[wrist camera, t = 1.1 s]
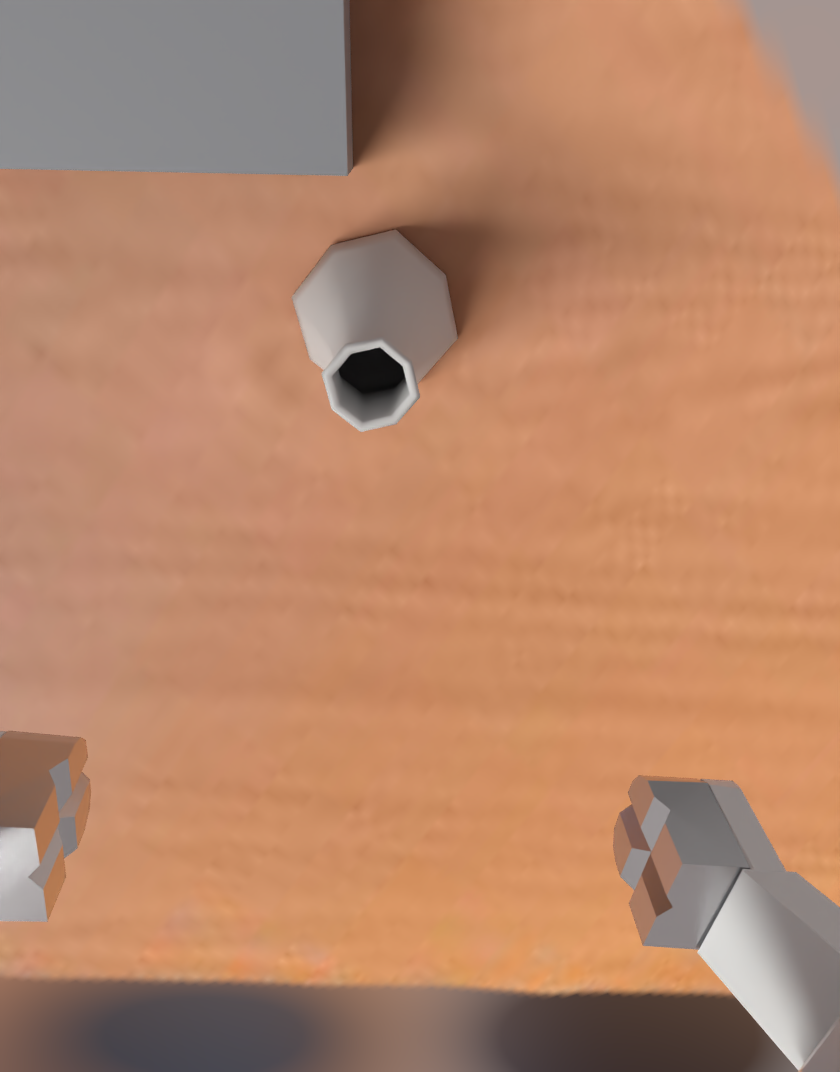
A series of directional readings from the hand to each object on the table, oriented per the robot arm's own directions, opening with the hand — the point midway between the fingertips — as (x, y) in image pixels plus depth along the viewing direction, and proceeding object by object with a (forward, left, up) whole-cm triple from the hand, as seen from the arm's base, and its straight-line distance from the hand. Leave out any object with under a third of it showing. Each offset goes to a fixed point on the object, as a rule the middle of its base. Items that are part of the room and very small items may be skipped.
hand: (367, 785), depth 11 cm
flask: (0, -1, -27) cm, 27 cm away
